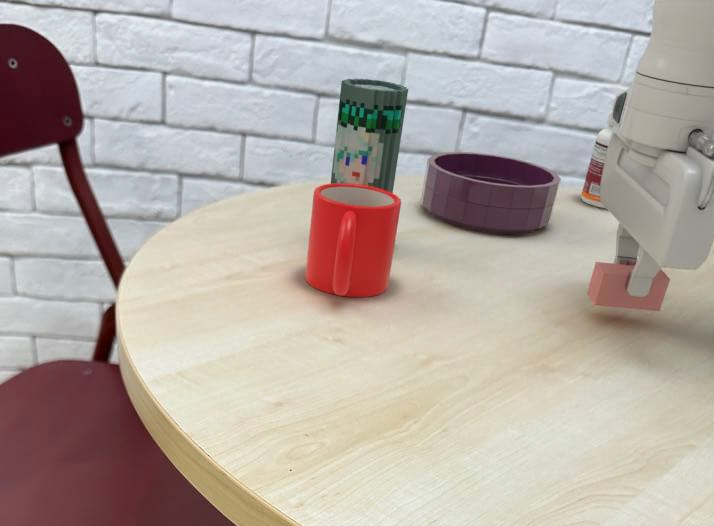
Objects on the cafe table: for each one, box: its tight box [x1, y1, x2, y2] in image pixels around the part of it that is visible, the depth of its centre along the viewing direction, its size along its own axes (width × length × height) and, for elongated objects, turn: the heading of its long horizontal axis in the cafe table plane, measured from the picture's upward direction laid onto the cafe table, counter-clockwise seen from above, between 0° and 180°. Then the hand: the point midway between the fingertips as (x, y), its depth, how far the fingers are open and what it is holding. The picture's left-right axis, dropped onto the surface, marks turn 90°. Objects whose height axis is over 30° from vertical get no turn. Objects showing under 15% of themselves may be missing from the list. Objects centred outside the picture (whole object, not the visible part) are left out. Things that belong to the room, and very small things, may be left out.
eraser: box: [586, 261, 671, 312], centre depth 77 cm, size 6×3×3 cm, turn 88°
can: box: [330, 77, 409, 194], centre depth 85 cm, size 6×6×15 cm
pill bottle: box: [580, 110, 616, 209], centre depth 111 cm, size 6×6×11 cm
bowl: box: [420, 151, 562, 235], centre depth 102 cm, size 16×16×6 cm
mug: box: [305, 183, 402, 298], centre depth 76 cm, size 8×12×8 cm, turn 174°
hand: (628, 284), depth 77 cm, fingers closed on eraser, 3 cm apart
